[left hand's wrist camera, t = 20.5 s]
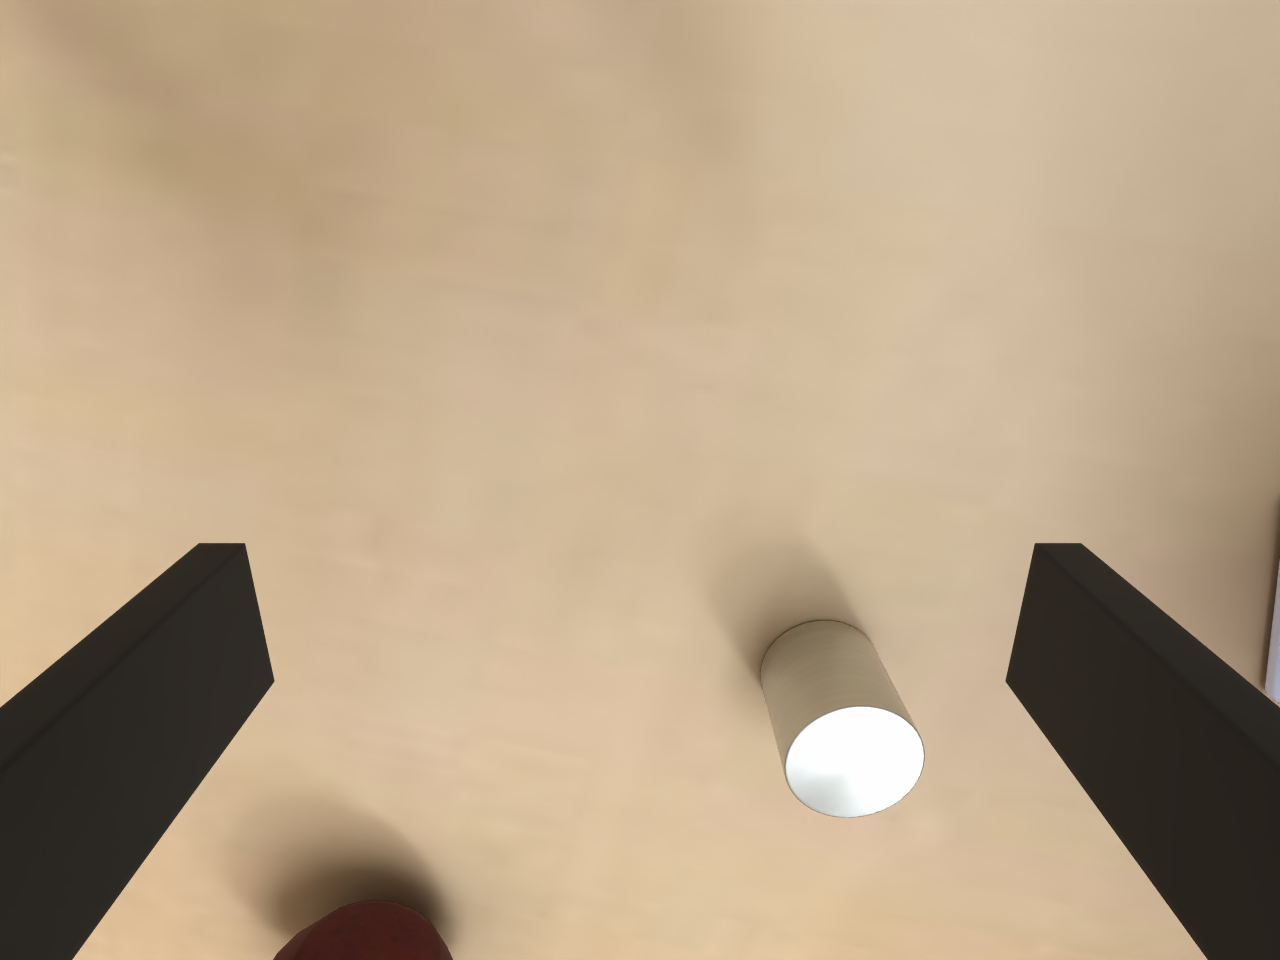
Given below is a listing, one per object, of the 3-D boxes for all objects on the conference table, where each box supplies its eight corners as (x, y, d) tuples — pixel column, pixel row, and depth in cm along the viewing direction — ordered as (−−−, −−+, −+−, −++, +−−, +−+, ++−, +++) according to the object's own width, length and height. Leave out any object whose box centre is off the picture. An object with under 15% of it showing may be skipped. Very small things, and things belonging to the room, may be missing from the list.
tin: (760, 722, 27) (784, 822, 23) (759, 623, 26) (784, 710, 22) (875, 715, 27) (920, 814, 23) (880, 616, 26) (929, 701, 21)
